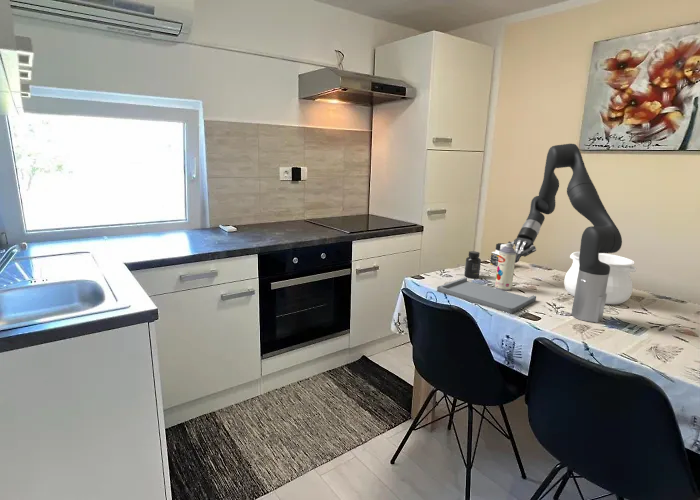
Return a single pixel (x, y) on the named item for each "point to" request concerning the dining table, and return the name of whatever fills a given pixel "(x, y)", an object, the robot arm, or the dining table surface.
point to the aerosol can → (505, 268)
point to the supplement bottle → (472, 265)
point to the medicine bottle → (496, 254)
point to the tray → (486, 295)
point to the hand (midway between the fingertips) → (514, 261)
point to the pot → (617, 280)
